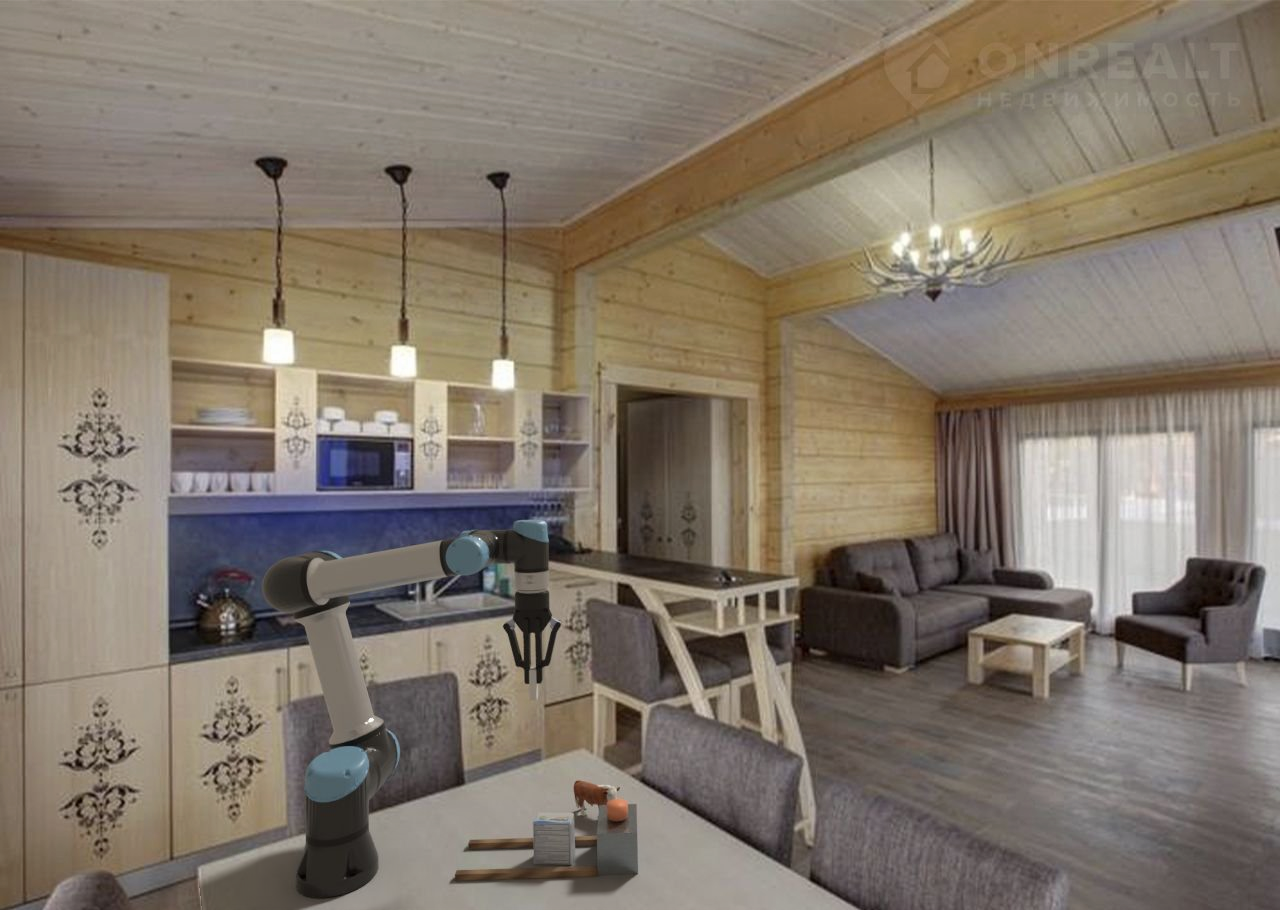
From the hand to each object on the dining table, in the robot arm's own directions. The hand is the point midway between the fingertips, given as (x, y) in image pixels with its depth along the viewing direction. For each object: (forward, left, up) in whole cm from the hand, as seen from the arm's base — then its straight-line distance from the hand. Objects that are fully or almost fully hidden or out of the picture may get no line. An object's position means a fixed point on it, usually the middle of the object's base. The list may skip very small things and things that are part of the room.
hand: (533, 698), depth 153 cm
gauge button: (+18, -8, -26) cm, 33 cm away
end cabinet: (+18, -9, -30) cm, 36 cm away
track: (0, -9, -30) cm, 32 cm away
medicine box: (+5, -9, -31) cm, 32 cm away
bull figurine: (+13, +9, -31) cm, 34 cm away
